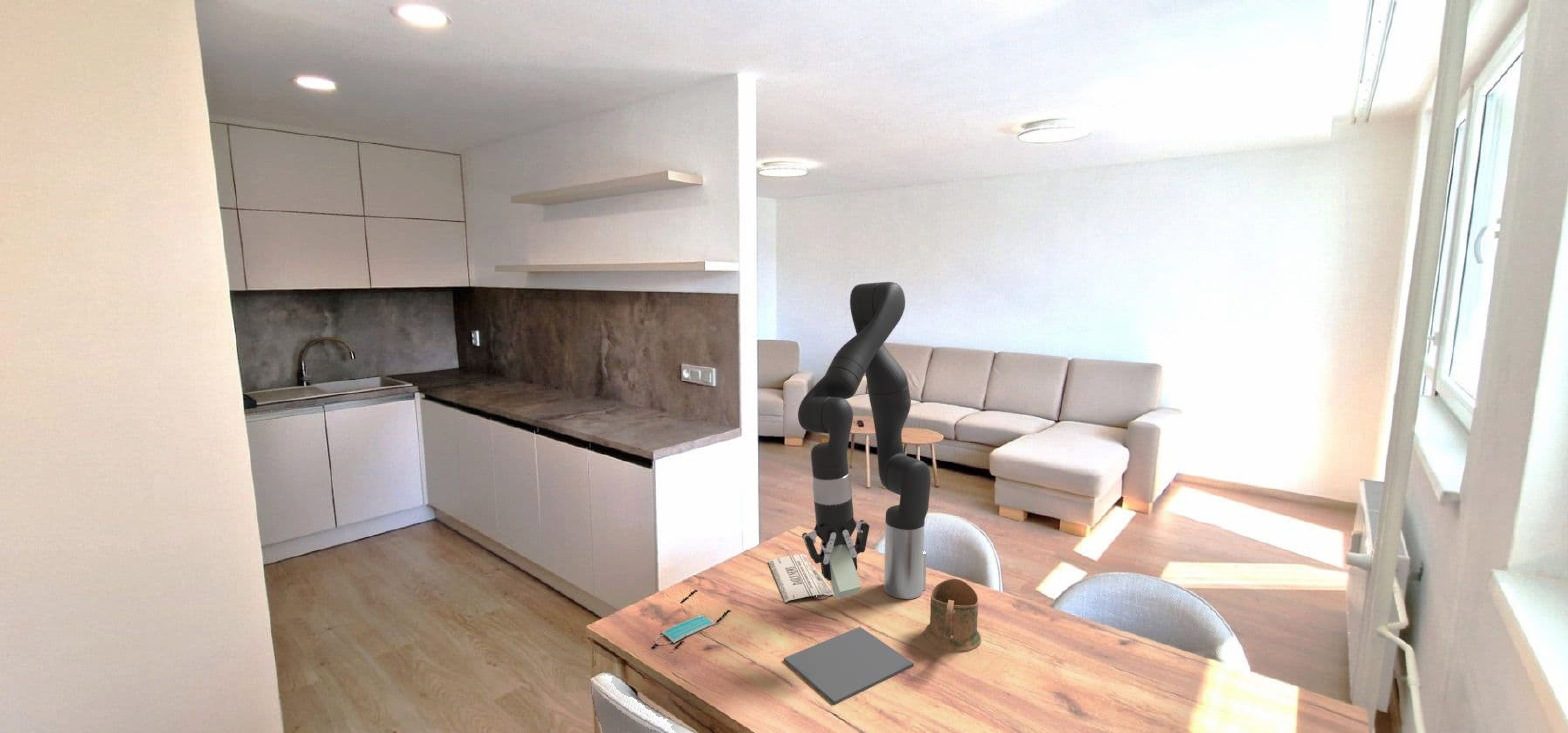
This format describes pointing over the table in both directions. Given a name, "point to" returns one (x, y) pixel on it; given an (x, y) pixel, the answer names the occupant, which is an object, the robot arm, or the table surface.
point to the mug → (953, 617)
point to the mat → (848, 664)
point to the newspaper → (798, 578)
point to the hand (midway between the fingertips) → (839, 575)
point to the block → (843, 573)
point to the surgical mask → (688, 627)
